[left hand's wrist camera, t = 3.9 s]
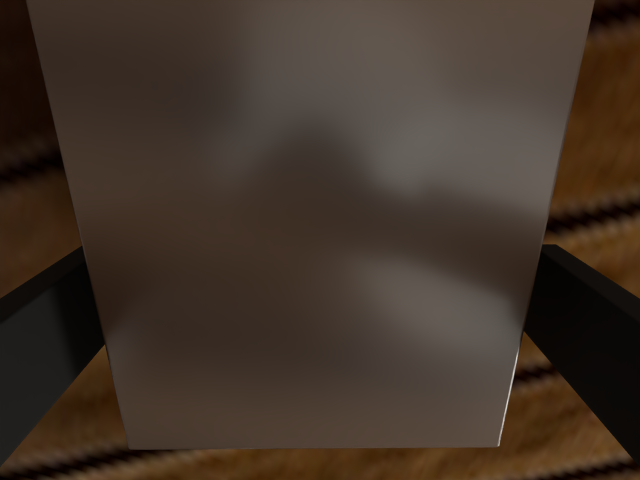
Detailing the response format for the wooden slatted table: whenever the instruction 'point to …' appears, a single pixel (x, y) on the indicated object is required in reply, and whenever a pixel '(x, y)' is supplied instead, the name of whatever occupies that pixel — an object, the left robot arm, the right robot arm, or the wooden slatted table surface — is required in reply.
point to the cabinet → (311, 208)
